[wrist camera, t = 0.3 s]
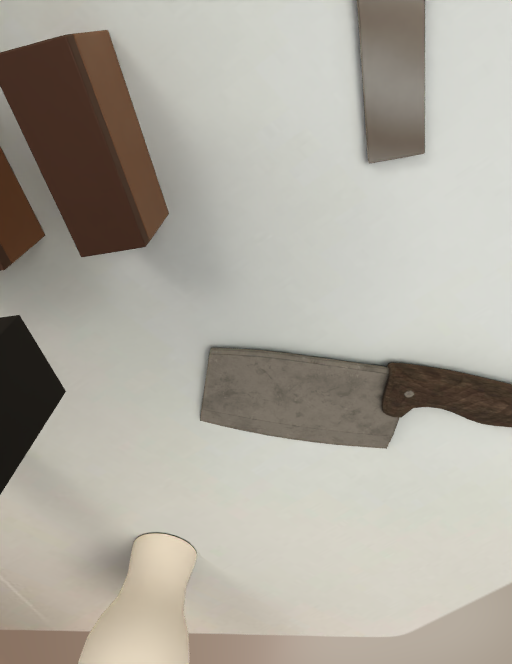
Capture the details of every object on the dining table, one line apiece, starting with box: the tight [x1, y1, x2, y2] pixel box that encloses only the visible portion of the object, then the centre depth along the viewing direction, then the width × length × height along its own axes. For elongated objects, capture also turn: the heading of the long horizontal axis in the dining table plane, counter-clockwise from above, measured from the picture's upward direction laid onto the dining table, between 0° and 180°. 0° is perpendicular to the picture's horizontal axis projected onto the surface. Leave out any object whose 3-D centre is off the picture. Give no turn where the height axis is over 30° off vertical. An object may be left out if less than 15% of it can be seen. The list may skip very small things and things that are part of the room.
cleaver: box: [200, 348, 512, 448], centre depth 36 cm, size 29×10×2 cm, turn 88°
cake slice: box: [0, 30, 169, 257], centre depth 24 cm, size 10×4×5 cm, turn 12°
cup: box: [78, 533, 197, 664], centre depth 48 cm, size 11×11×15 cm
